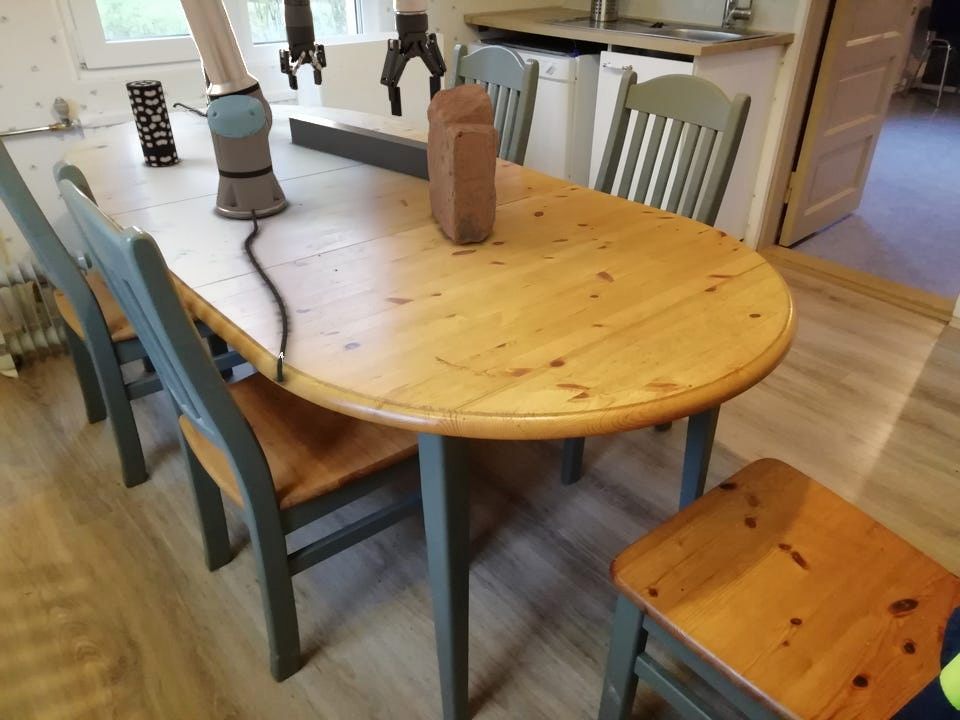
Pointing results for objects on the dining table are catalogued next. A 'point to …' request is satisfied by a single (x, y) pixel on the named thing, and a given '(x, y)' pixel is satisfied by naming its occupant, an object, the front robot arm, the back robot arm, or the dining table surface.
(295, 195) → the dining table surface
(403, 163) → the post
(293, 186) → the dining table surface
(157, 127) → the black white spotted cylinder
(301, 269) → the dining table surface
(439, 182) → the stone
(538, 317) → the dining table surface
